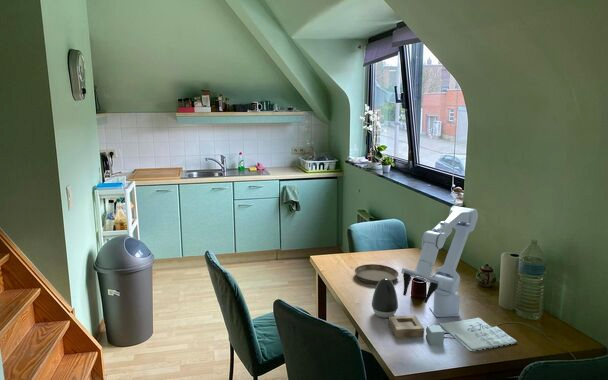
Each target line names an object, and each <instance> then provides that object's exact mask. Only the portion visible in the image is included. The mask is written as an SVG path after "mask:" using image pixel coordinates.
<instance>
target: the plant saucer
mask: <svg viewBox="0 0 608 380" xmlns="http://www.w3.org/2000/svg"><path fill="white" fill-rule="evenodd" d="M354 273H355V275H356V277H357V278H358V279H359V280H360V281H362V282H364V283H366V284H370V285H376V286H377V284H378V282H379V281H380V280H381V279H383V278H387V279H390V280H391V281H392V283H393V282H394V281H396V280H397V279H398V277H399V271H398V270H396V269H395V268H393V267H391V266H388V265H383V264H374V263H372V264H371V263H369V264H362V265H359V266H357V267H355V269H354Z"/></svg>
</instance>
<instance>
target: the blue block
mask: <svg viewBox="0 0 608 380" xmlns="http://www.w3.org/2000/svg"><path fill="white" fill-rule="evenodd" d="M426 340H427V342H428V344H430V346H444V344H445V343H444V340H445V330H444V328H442V327H441V326H440V325H439V324H438V325H437V324H436V325H427V326H426Z"/></svg>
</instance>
